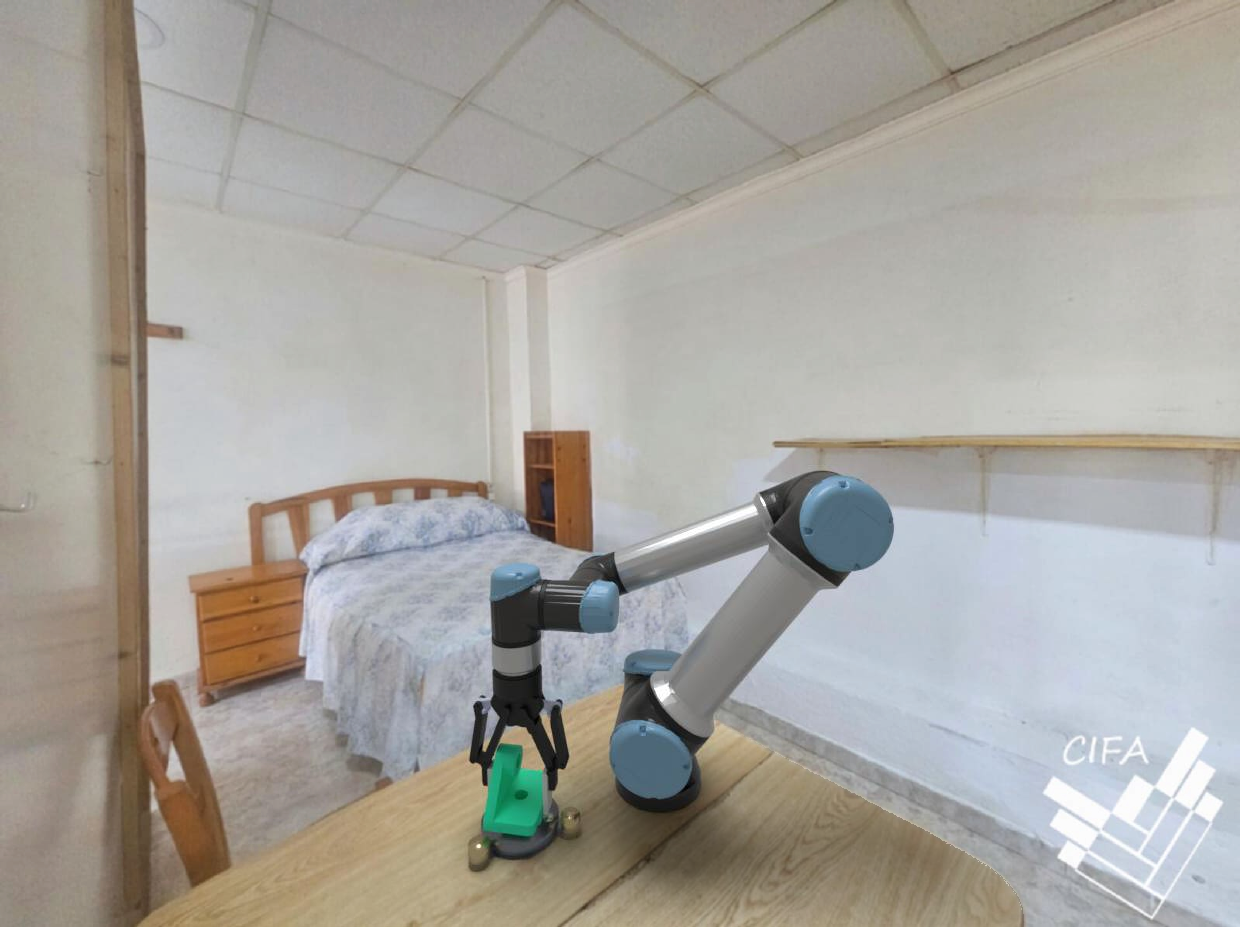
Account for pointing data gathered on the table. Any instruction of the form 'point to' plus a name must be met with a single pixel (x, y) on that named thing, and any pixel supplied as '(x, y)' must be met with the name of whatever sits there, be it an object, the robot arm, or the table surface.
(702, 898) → the table surface
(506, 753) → the camera mount
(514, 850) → the plate
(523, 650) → the robot arm
